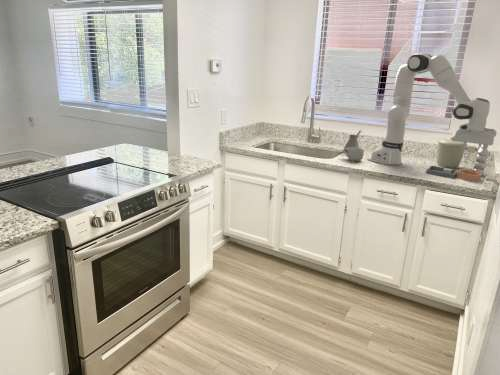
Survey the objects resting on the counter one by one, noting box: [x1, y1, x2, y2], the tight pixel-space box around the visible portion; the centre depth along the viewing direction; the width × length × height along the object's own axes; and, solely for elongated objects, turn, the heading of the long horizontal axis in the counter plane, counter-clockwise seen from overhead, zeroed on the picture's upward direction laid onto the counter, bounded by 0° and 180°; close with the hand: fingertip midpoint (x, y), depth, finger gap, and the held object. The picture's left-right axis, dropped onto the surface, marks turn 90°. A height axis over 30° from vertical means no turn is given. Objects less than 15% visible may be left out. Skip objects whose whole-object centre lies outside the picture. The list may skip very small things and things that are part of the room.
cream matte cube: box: [443, 167, 453, 174], centre depth 233 cm, size 4×4×3 cm
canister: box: [436, 135, 469, 169], centre depth 252 cm, size 18×18×21 cm
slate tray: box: [425, 165, 459, 179], centre depth 235 cm, size 16×14×3 cm
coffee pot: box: [343, 130, 363, 154], centre depth 284 cm, size 21×12×15 cm, turn 146°
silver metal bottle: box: [472, 144, 490, 177], centre depth 233 cm, size 6×7×20 cm
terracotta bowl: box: [456, 169, 482, 182], centre depth 227 cm, size 12×12×4 cm
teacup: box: [342, 147, 365, 162], centre depth 260 cm, size 14×11×8 cm
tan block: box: [466, 145, 477, 154], centre depth 223 cm, size 4×4×3 cm
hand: (471, 150), depth 223 cm, fingers closed on tan block, 4 cm apart
